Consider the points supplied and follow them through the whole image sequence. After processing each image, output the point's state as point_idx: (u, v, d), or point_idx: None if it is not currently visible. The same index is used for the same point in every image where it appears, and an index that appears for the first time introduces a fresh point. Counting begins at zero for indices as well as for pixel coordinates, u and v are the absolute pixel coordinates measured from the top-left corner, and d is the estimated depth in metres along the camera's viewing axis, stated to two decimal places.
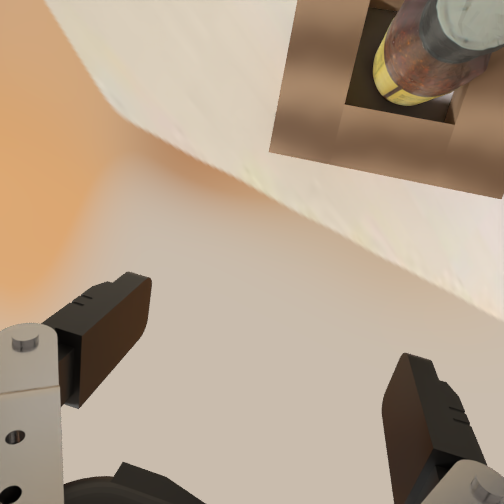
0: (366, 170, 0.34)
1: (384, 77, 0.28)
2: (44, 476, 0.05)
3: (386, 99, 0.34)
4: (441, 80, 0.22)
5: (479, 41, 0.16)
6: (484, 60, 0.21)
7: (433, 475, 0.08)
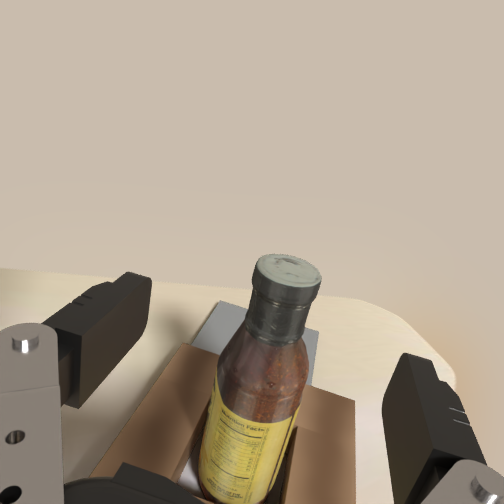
0: None
1: (273, 444, 0.26)
2: (44, 476, 0.05)
3: (265, 499, 0.30)
4: (306, 353, 0.26)
5: (316, 274, 0.23)
6: None
7: (433, 475, 0.08)
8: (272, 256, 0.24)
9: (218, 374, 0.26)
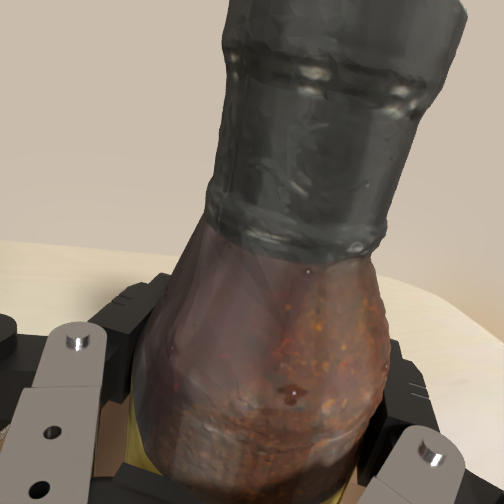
0: None
1: None
2: (72, 476, 0.05)
3: None
4: None
5: None
6: None
7: (388, 441, 0.09)
8: None
9: (135, 369, 0.09)
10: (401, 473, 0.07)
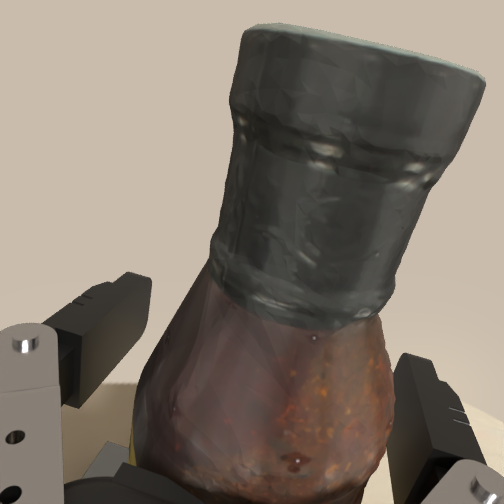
0: None
1: None
2: (44, 476, 0.05)
3: None
4: None
5: None
6: None
7: (433, 475, 0.08)
8: None
9: (136, 415, 0.09)
10: None
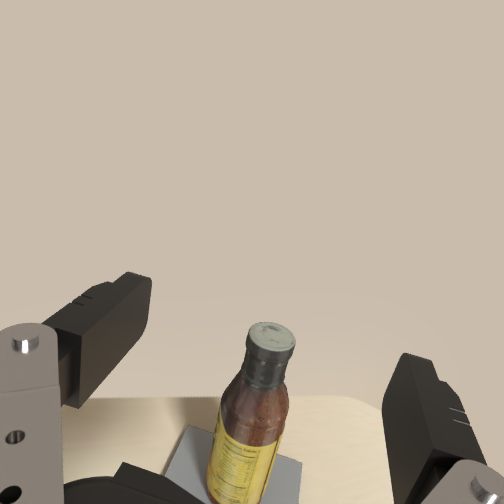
0: None
1: (263, 462, 0.35)
2: (44, 476, 0.05)
3: None
4: (286, 393, 0.35)
5: (292, 339, 0.32)
6: None
7: (433, 475, 0.08)
8: (260, 324, 0.33)
9: (222, 411, 0.35)
10: None
